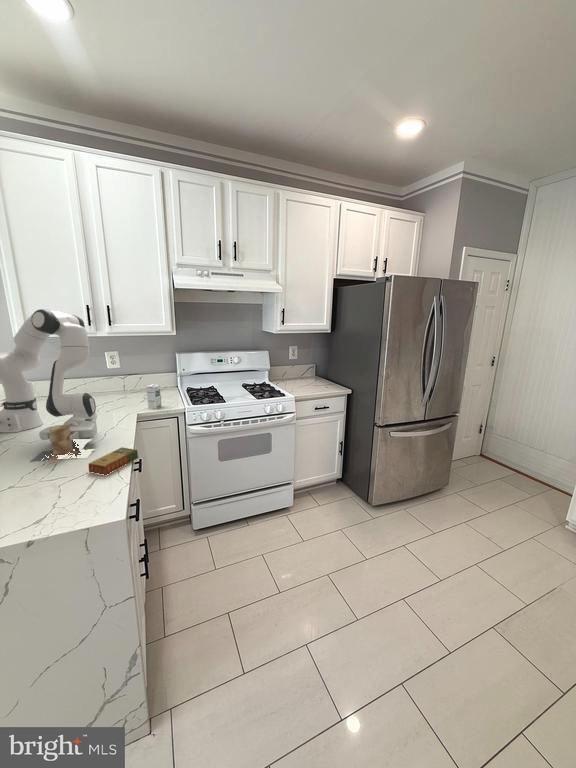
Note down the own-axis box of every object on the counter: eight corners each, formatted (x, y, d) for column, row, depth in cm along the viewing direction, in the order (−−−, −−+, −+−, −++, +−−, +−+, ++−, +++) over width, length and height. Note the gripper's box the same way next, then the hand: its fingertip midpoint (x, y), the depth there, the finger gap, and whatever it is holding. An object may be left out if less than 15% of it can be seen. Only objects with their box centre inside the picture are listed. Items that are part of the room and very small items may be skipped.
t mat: (29, 462, 125) (29, 461, 125) (57, 439, 147) (57, 439, 147) (87, 458, 129) (87, 457, 129) (107, 437, 151) (107, 436, 151)
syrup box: (156, 409, 195) (154, 386, 192) (147, 408, 196) (145, 385, 193) (161, 406, 200) (160, 384, 197) (153, 406, 202) (151, 383, 198)
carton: (88, 473, 118) (87, 462, 117) (122, 455, 133) (121, 446, 132) (106, 477, 115) (105, 466, 114) (138, 458, 130) (137, 448, 129)
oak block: (53, 455, 127) (49, 429, 125) (59, 450, 132) (55, 425, 130) (67, 454, 128) (63, 428, 126) (72, 449, 133) (69, 424, 131)
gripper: (48, 421, 138) (29, 433, 125) (99, 419, 143) (86, 430, 129) (50, 435, 140) (32, 448, 127) (100, 432, 144) (88, 444, 131)
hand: (60, 439), depth 128 cm, fingers closed on oak block, 5 cm apart
